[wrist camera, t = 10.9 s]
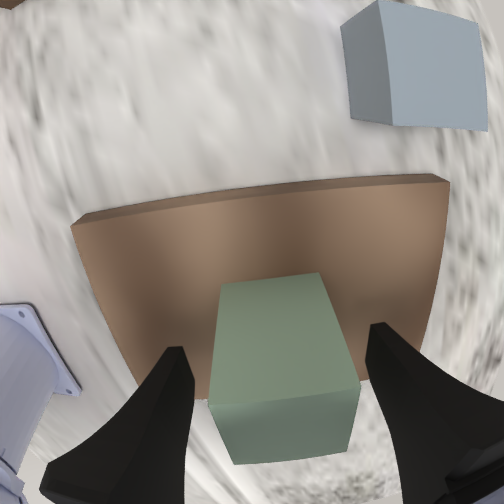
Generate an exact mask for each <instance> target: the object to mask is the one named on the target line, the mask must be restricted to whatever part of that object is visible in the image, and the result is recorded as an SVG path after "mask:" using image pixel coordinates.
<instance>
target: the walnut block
mask: <svg viewBox="0 0 504 504" xmlns="http://www.w3.org/2000/svg"><path fill="white" fill-rule="evenodd" d="M23 1H25V0H0V7H1V8H6V9H10V10H11V9H12V8H14V7H16V6H17V5H19V4H20V3H22V2H23Z"/></svg>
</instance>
